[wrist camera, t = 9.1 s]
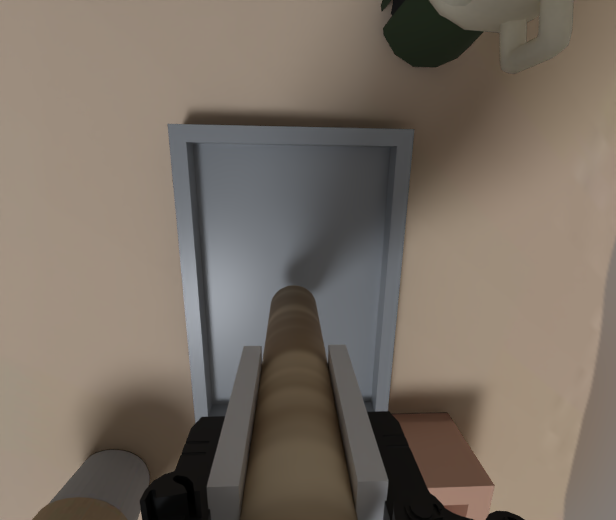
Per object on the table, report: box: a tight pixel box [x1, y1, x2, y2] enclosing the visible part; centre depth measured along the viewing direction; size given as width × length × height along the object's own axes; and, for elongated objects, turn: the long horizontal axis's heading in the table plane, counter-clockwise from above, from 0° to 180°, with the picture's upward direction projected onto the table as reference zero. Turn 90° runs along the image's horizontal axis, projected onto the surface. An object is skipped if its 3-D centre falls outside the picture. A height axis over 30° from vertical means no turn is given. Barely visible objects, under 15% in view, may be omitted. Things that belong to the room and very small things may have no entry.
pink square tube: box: [392, 413, 495, 520], centre depth 27 cm, size 8×8×7 cm
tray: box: [168, 124, 414, 424], centre depth 24 cm, size 22×15×2 cm
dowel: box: [239, 285, 358, 520], centre depth 14 cm, size 3×3×16 cm
